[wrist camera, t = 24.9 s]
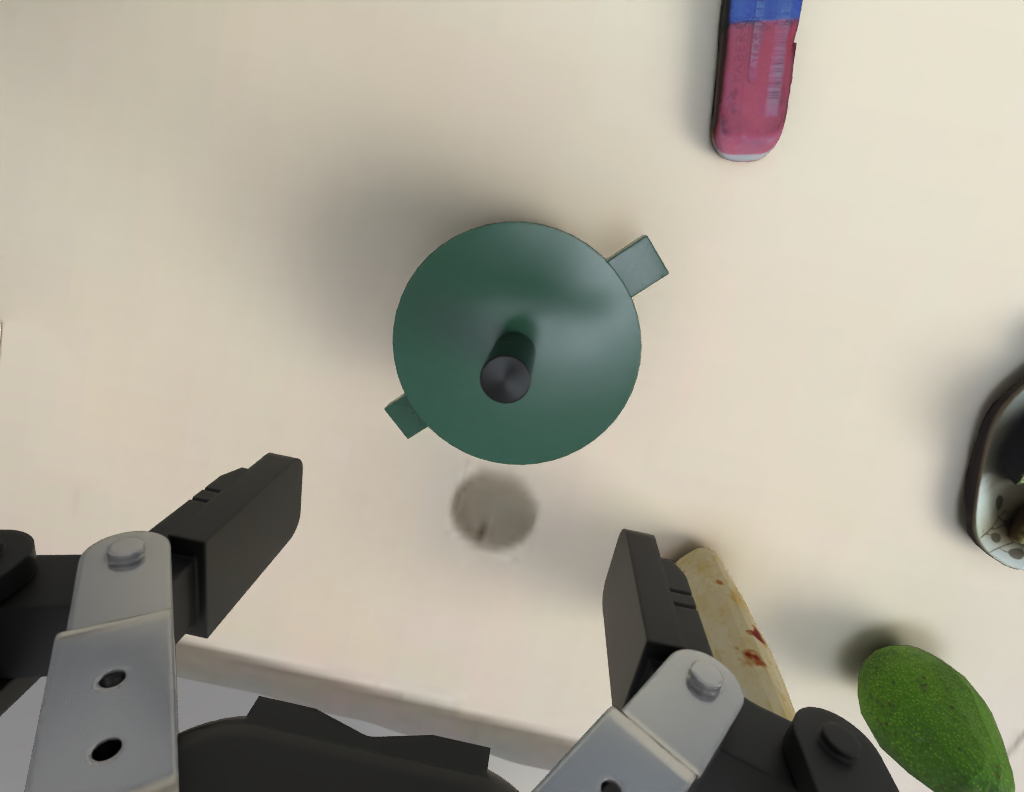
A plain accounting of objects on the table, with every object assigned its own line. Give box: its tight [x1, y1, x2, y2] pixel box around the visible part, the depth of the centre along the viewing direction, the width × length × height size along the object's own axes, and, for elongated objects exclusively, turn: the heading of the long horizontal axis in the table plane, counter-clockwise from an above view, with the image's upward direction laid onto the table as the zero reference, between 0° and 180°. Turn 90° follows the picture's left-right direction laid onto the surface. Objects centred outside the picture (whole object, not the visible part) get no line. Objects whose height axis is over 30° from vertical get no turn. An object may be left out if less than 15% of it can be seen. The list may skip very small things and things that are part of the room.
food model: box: [675, 547, 795, 721], centre depth 34 cm, size 10×7×20 cm
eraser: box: [711, 0, 803, 162], centre depth 30 cm, size 11×4×2 cm, turn 1°
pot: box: [385, 235, 669, 439], centre depth 33 cm, size 13×18×8 cm
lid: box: [393, 222, 641, 465], centre depth 27 cm, size 14×14×6 cm
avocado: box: [858, 645, 1015, 792], centre depth 39 cm, size 8×8×12 cm
